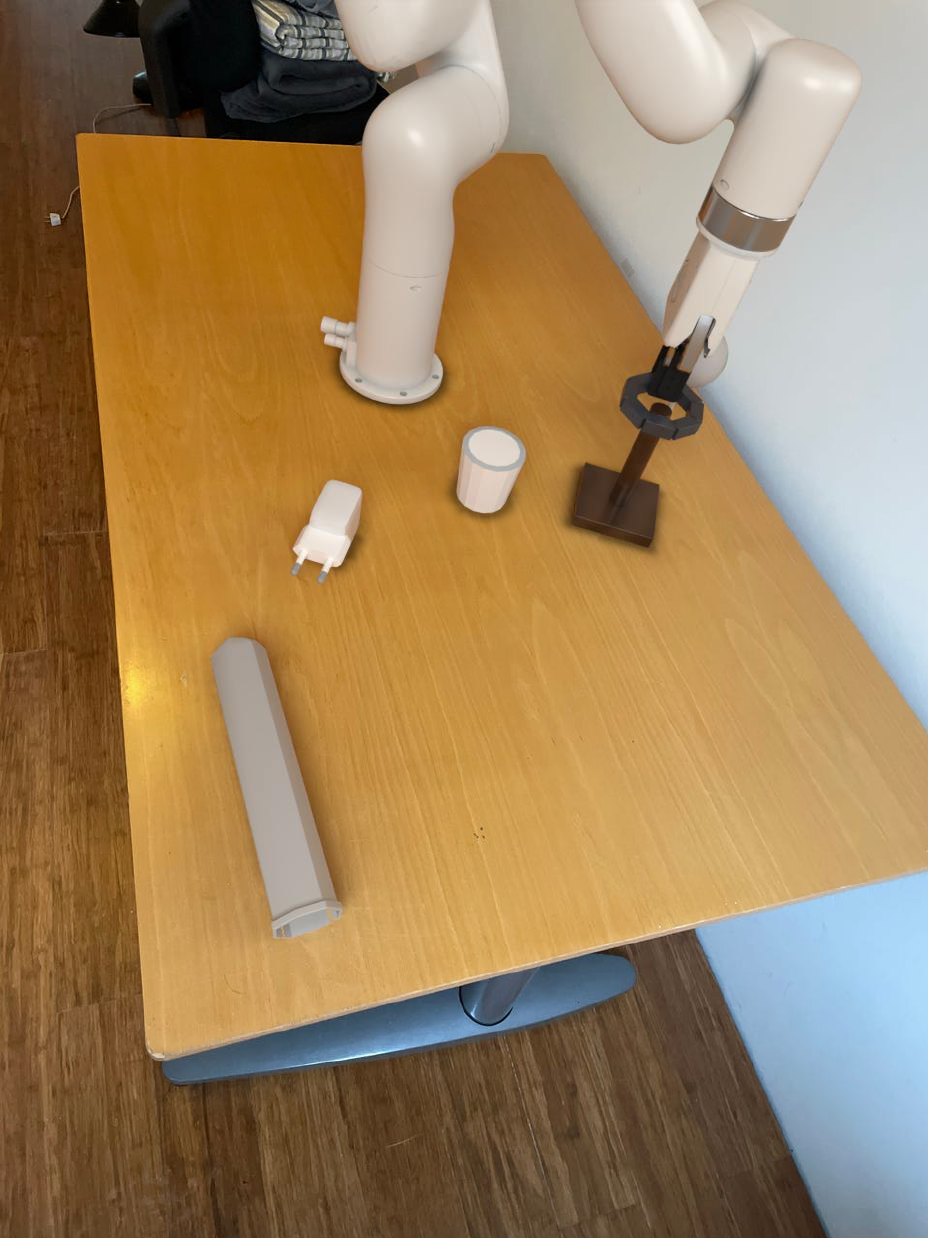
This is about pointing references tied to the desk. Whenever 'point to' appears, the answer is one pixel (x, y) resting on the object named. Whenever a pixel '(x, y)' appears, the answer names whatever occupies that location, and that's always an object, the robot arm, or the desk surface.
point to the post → (621, 493)
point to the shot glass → (488, 468)
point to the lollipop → (708, 367)
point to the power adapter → (329, 527)
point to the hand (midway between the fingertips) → (662, 388)
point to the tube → (273, 792)
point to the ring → (657, 423)
